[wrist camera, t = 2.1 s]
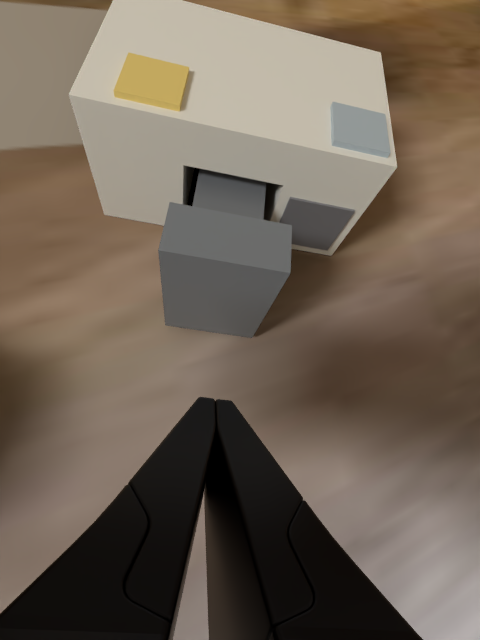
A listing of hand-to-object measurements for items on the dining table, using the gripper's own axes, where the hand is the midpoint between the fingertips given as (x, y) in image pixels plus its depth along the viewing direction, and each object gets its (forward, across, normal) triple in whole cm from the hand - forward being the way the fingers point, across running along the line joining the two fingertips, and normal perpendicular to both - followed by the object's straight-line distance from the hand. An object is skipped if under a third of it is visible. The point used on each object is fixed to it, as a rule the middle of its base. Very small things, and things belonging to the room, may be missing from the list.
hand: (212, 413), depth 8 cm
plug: (+15, 0, 0) cm, 15 cm away
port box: (+20, 0, -6) cm, 21 cm away
